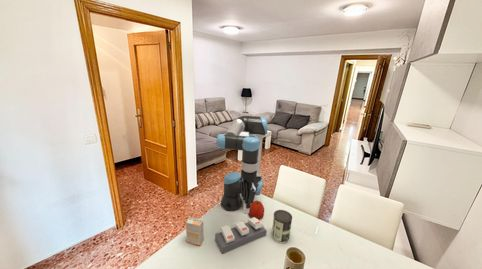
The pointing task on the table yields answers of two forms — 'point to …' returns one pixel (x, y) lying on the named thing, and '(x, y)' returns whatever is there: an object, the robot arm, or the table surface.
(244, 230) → the rocker
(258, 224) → the block
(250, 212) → the apple
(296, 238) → the table surface
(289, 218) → the coffee can
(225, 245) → the rocker switch panel
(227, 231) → the rocker
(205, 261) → the table surface
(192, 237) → the supplement box
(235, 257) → the table surface
